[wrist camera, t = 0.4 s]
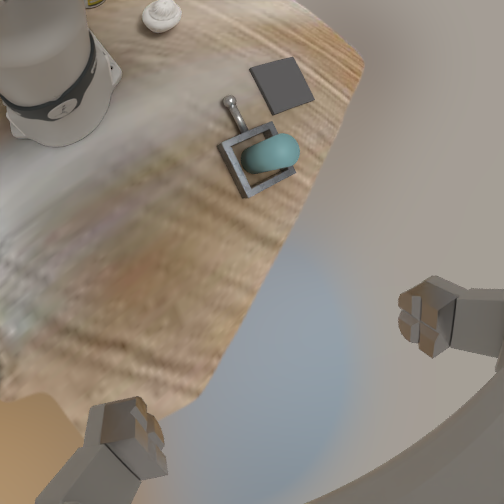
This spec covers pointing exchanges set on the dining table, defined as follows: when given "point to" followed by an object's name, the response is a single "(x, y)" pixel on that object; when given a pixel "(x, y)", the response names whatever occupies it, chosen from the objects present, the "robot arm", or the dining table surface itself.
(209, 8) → the dining table surface
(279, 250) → the dining table surface
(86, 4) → the supplement bottle
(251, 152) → the teal peg
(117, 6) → the dining table surface
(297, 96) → the rubber mat
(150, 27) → the muffin
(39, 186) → the dining table surface
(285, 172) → the socket
